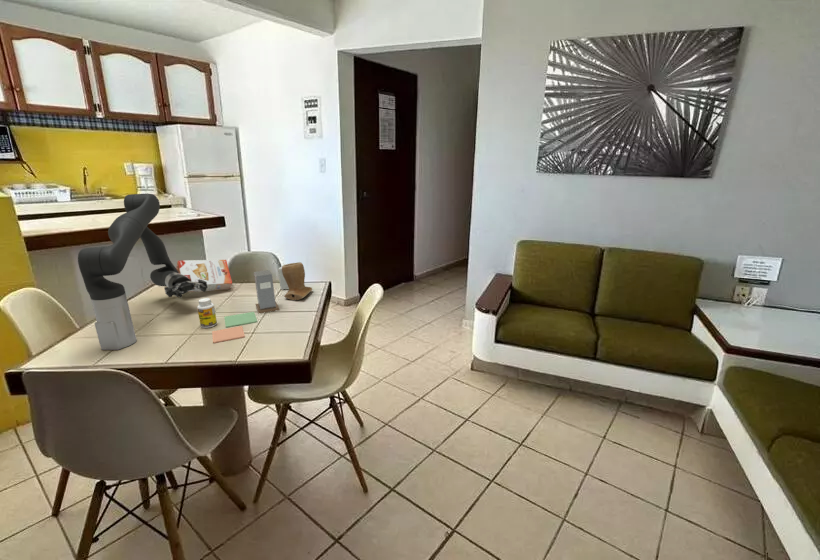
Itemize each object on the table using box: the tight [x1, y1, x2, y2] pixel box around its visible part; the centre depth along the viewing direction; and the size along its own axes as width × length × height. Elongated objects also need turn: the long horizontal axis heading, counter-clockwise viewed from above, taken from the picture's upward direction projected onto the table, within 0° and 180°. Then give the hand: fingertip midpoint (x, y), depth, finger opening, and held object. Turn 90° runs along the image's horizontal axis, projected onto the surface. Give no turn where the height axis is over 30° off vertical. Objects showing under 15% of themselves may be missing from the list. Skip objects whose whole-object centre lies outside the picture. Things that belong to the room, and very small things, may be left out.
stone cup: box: [281, 261, 313, 301], centre depth 178 cm, size 15×12×15 cm
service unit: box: [253, 269, 280, 314], centre depth 163 cm, size 9×8×15 cm
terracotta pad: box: [211, 325, 246, 344], centre depth 141 cm, size 10×10×1 cm
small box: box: [277, 265, 289, 291], centre depth 190 cm, size 8×6×10 cm
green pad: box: [223, 311, 258, 329], centre depth 154 cm, size 11×11×1 cm
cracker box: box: [175, 259, 233, 293], centre depth 185 cm, size 14×6×21 cm
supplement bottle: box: [196, 297, 218, 329], centre depth 147 cm, size 6×6×10 cm
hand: (193, 292), depth 154 cm, fingers open, 8 cm apart
